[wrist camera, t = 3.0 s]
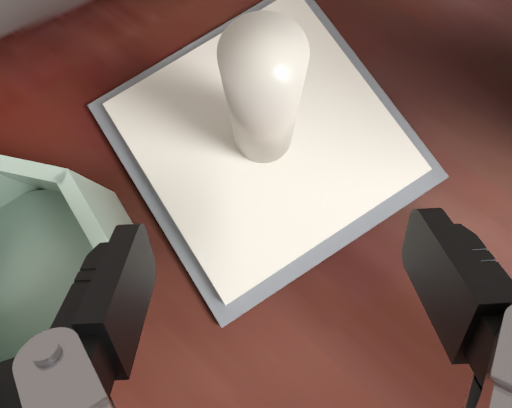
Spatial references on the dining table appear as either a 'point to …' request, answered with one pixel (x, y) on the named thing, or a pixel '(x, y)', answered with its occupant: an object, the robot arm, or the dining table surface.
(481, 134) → the dining table surface
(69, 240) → the bowl
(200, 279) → the mat
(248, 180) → the cover
